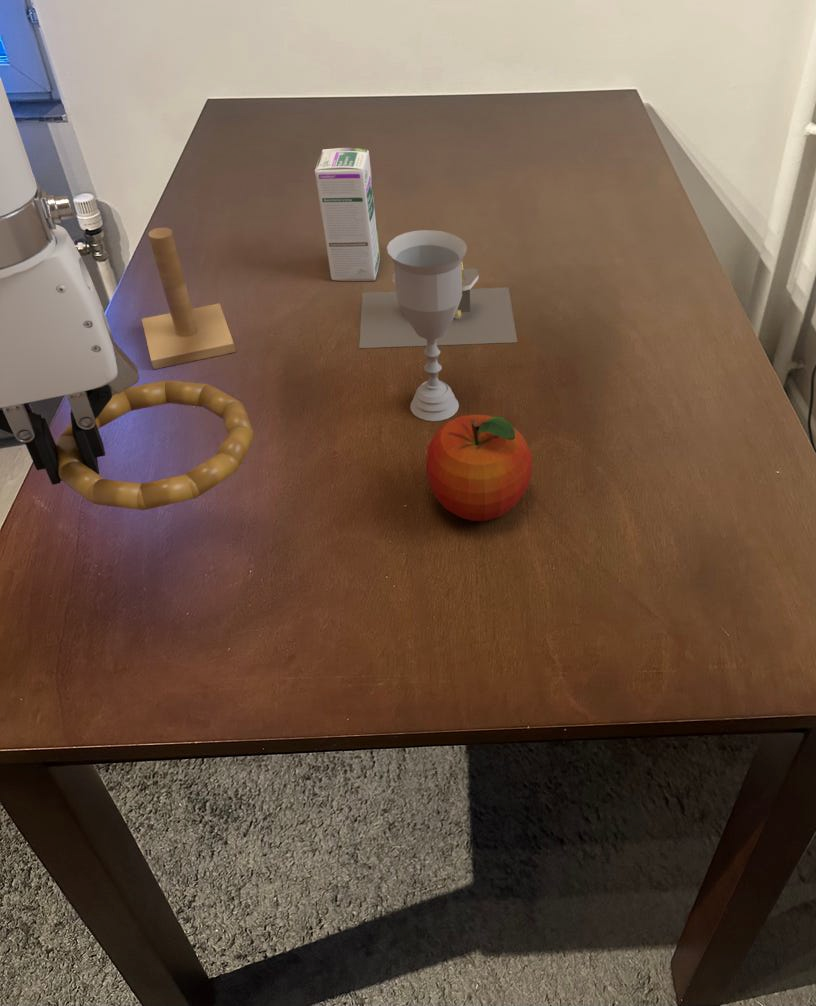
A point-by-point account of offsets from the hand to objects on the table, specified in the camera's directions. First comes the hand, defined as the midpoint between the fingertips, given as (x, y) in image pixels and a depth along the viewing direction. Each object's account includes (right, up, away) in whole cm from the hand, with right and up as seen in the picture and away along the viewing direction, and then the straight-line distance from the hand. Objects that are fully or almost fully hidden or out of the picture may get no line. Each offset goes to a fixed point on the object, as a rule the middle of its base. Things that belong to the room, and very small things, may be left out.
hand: (74, 466), depth 64 cm
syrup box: (+13, +27, +49) cm, 58 cm away
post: (-4, +16, +38) cm, 41 cm away
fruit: (+29, -3, +19) cm, 35 cm away
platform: (+24, +19, +41) cm, 52 cm away
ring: (+5, +2, +1) cm, 6 cm away
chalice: (+24, +7, +29) cm, 39 cm away
